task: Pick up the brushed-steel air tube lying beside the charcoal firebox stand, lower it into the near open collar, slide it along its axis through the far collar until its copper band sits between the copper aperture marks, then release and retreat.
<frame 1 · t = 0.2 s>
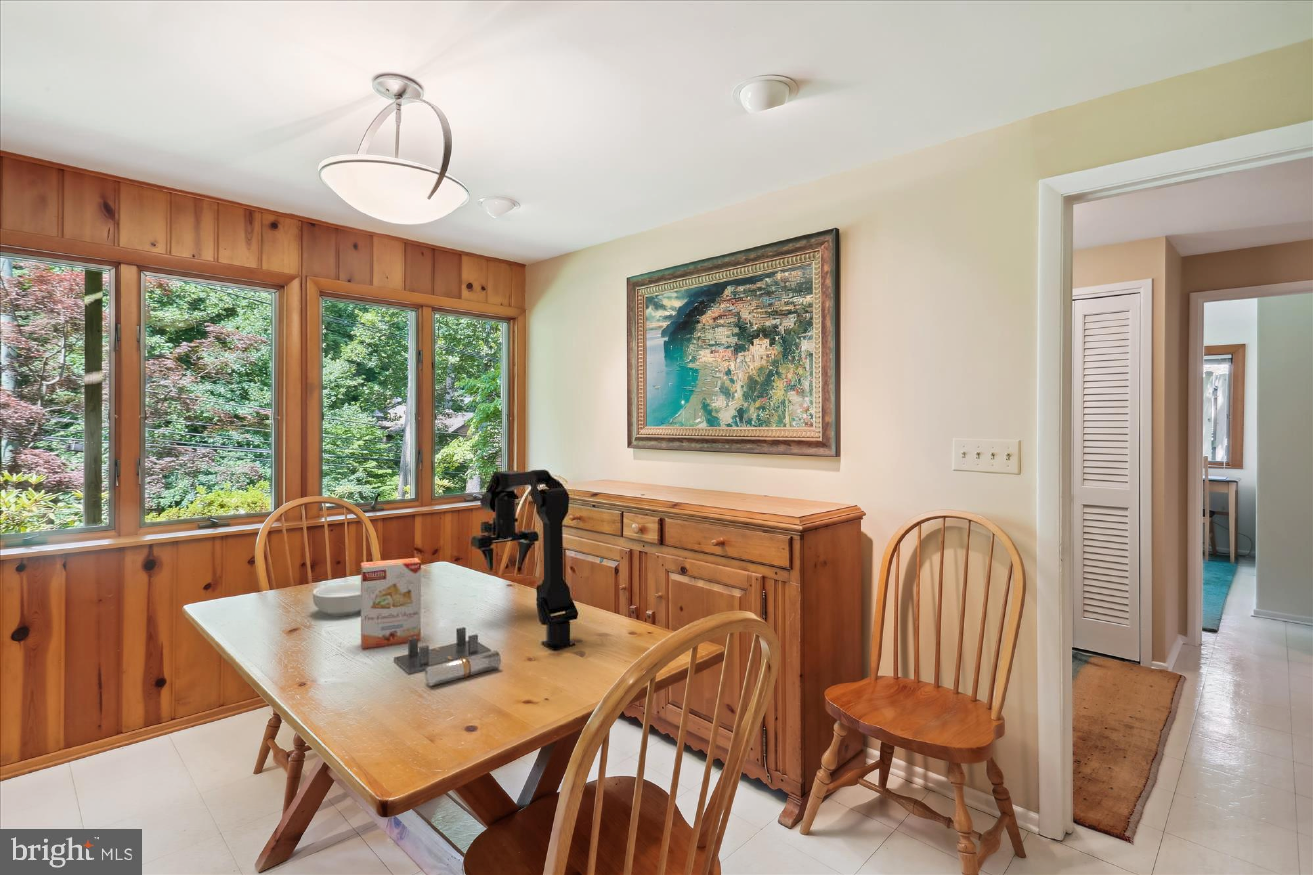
hand: (505, 568, 185), 15 cm above the table, tool pointing down, fingers open, 9 cm apart
cracker box: (391, 642, 165), on the table
cereal bowl: (344, 612, 191), on the table
firebox stand: (443, 657, 155), on the table
air tube: (463, 676, 143), on the table
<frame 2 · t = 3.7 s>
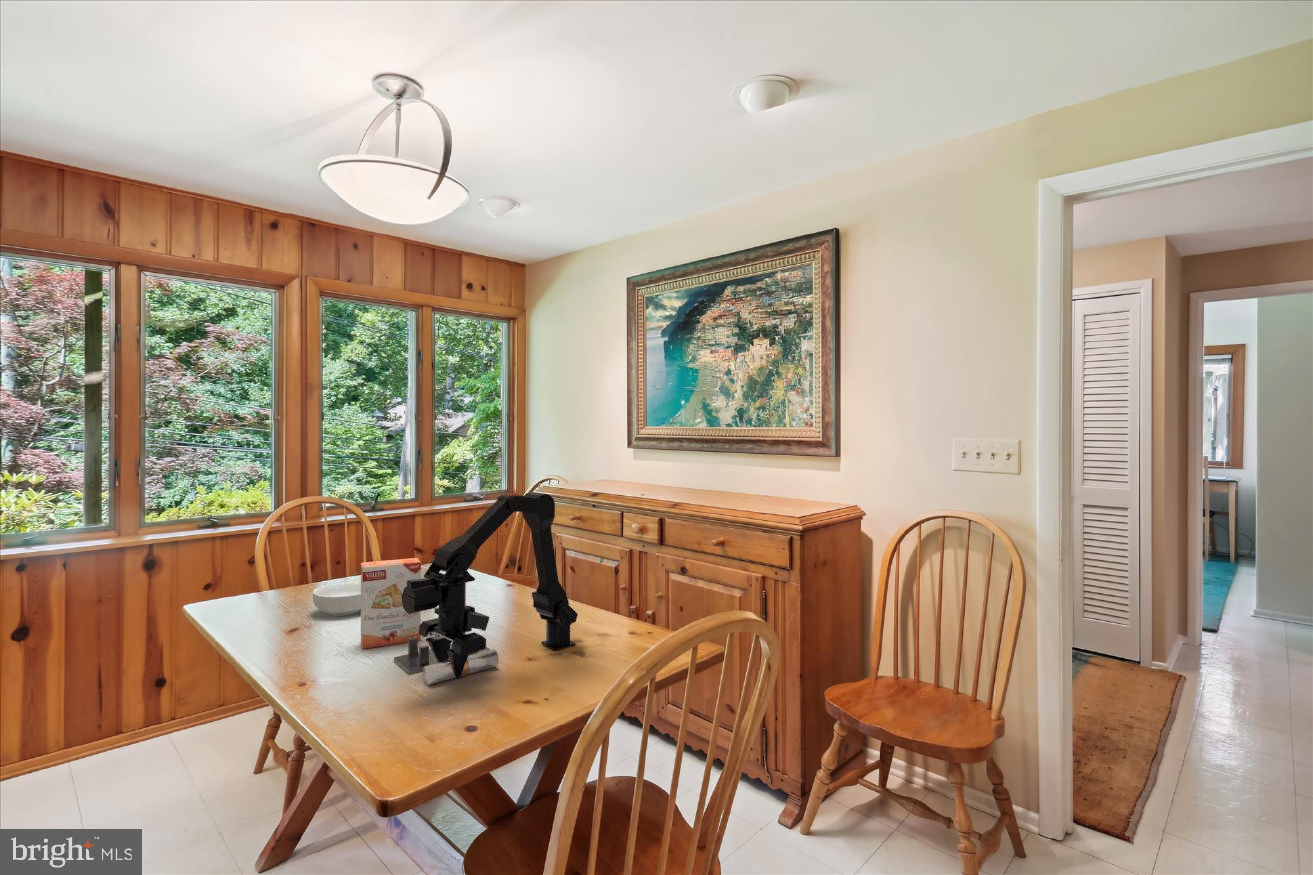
hand: (451, 673, 142), 1 cm above the table, tool pointing down, fingers open, 5 cm apart
air tube: (463, 675, 143), on the table, tilted 30°, touching gripper
everything else where it was.
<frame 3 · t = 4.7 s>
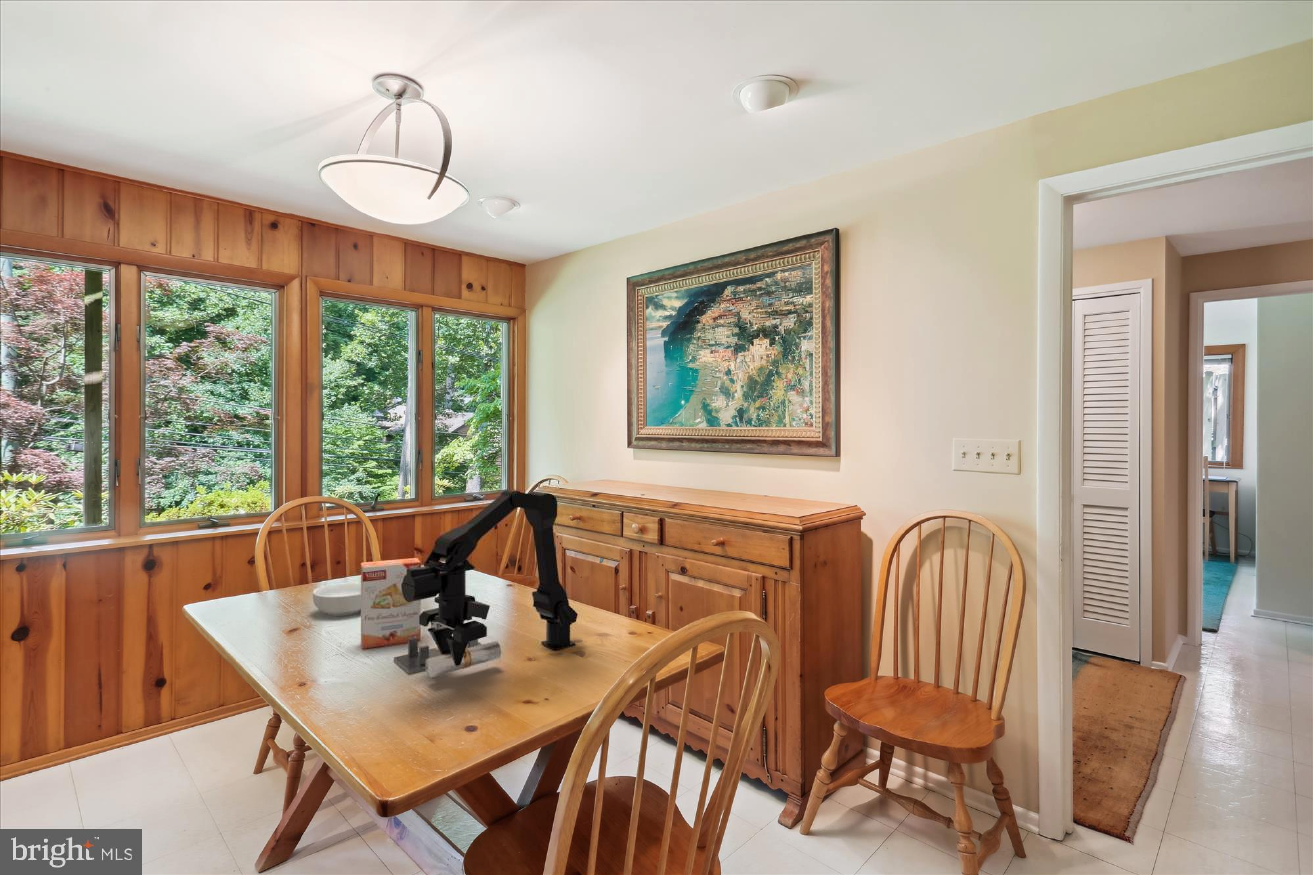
hand: (452, 662, 142), 4 cm above the table, tool pointing down, fingers closed on air tube, 4 cm apart
air tube: (465, 667, 143), point 2 cm above the table, tilted 14°, touching gripper
everything else where it was.
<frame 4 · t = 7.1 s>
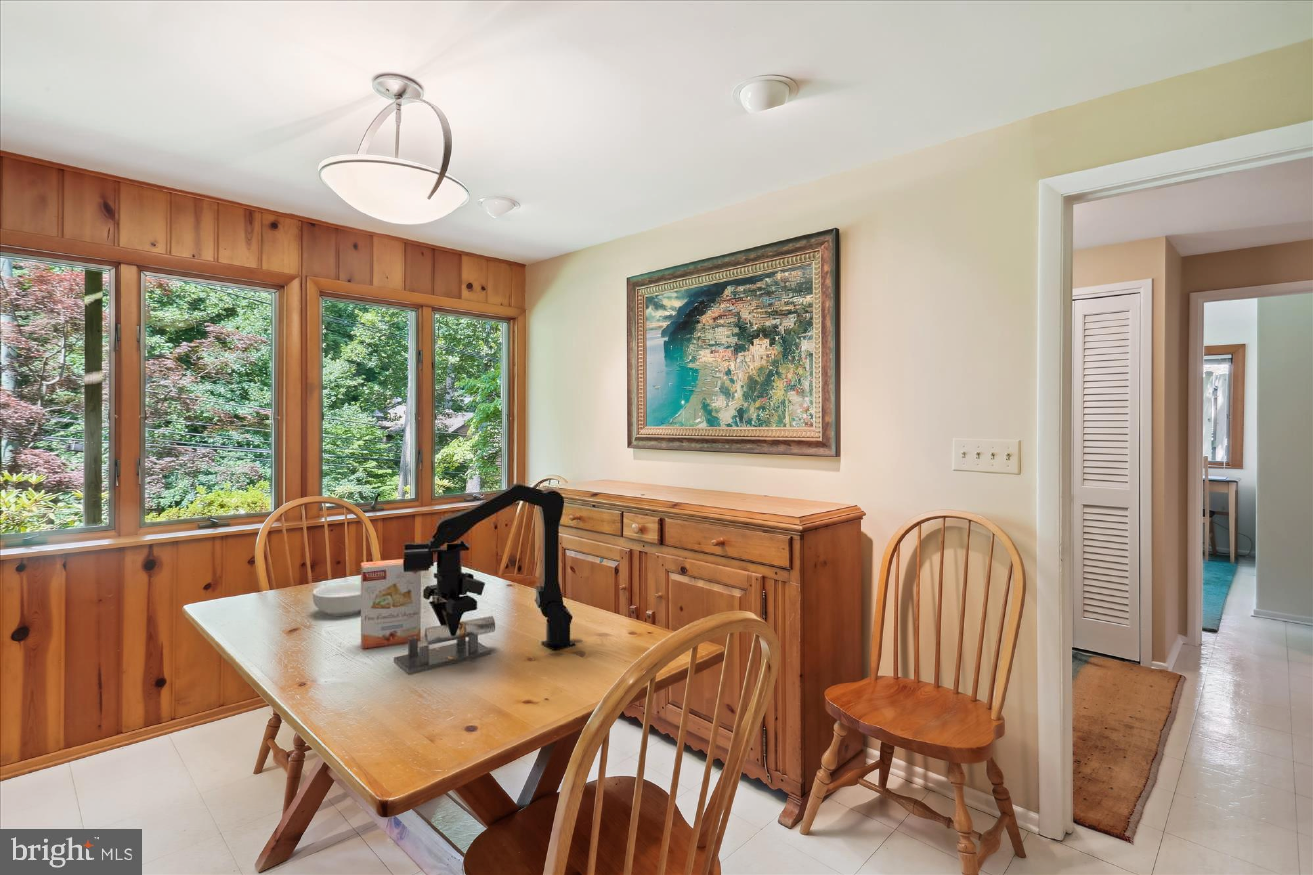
hand: (449, 633, 156), 6 cm above the table, tool pointing down, fingers closed on air tube, 4 cm apart
air tube: (461, 638, 157), point 4 cm above the table, tilted 14°, touching gripper
everything else where it was.
when the fingers open (2 cm above the table, at t = 9.7 s): air tube stays where it is, resting on firebox stand.
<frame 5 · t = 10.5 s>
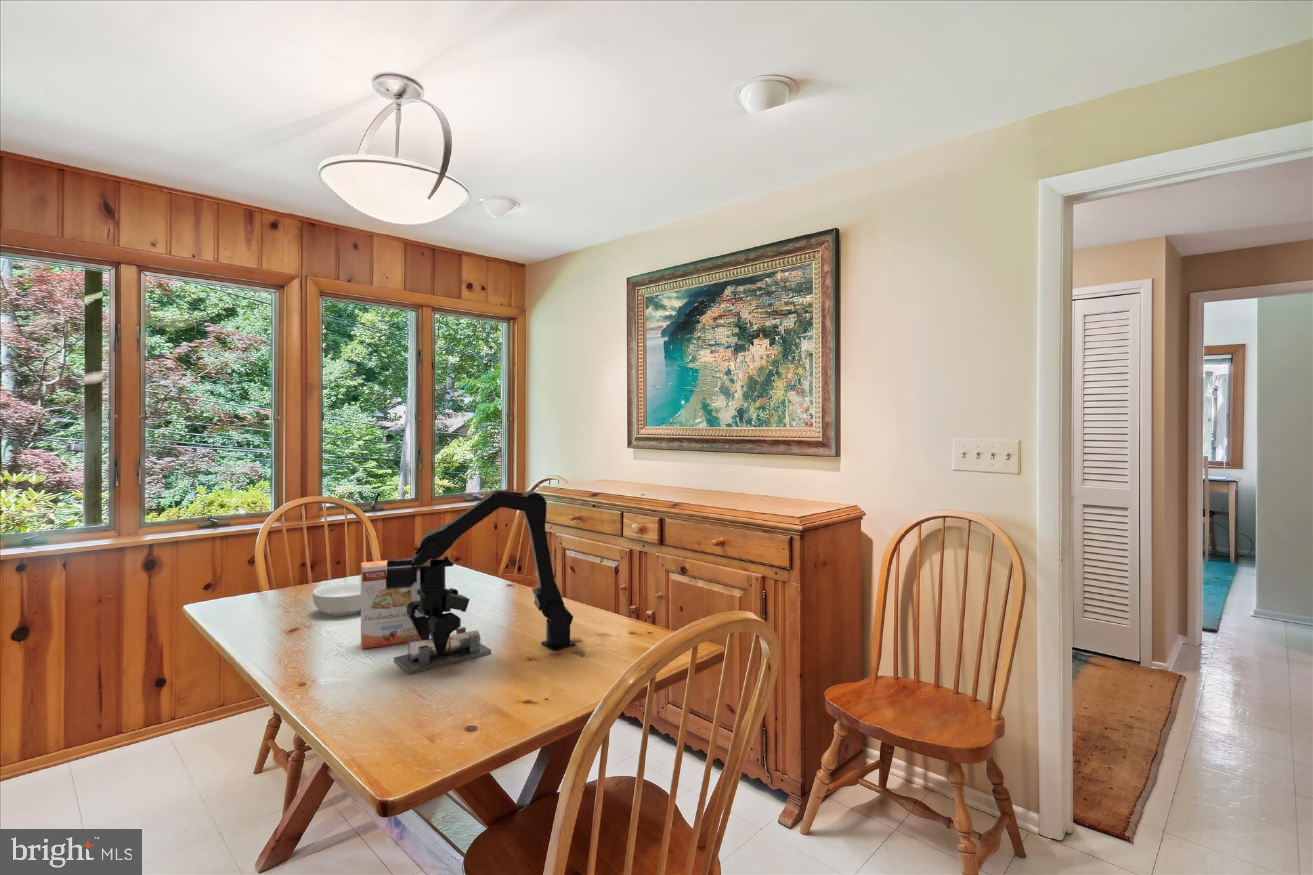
hand: (433, 650, 153), 2 cm above the table, tool pointing down, fingers open, 9 cm apart
air tube: (446, 653, 154), point 1 cm above the table, tilted 23°, touching firebox stand
everything else where it was.
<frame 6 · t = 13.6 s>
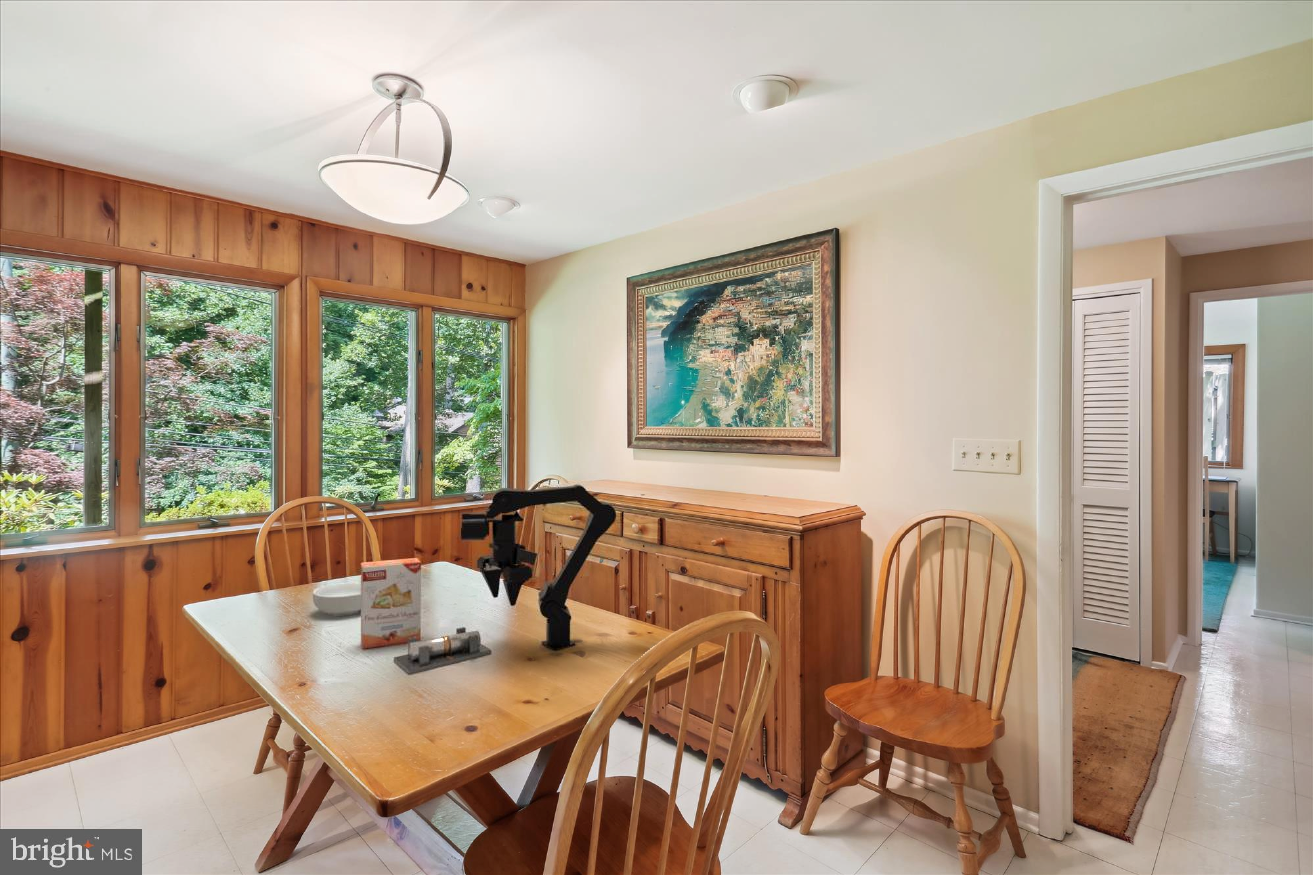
hand: (504, 601, 160), 12 cm above the table, tool pointing down, fingers open, 9 cm apart
nothing on the table moved.
at the end: air tube 0.9 cm off-centre on the firebox stand, point 1.1 cm above the firebox stand's base; the gripper is holding nothing; air tube touching firebox stand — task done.
